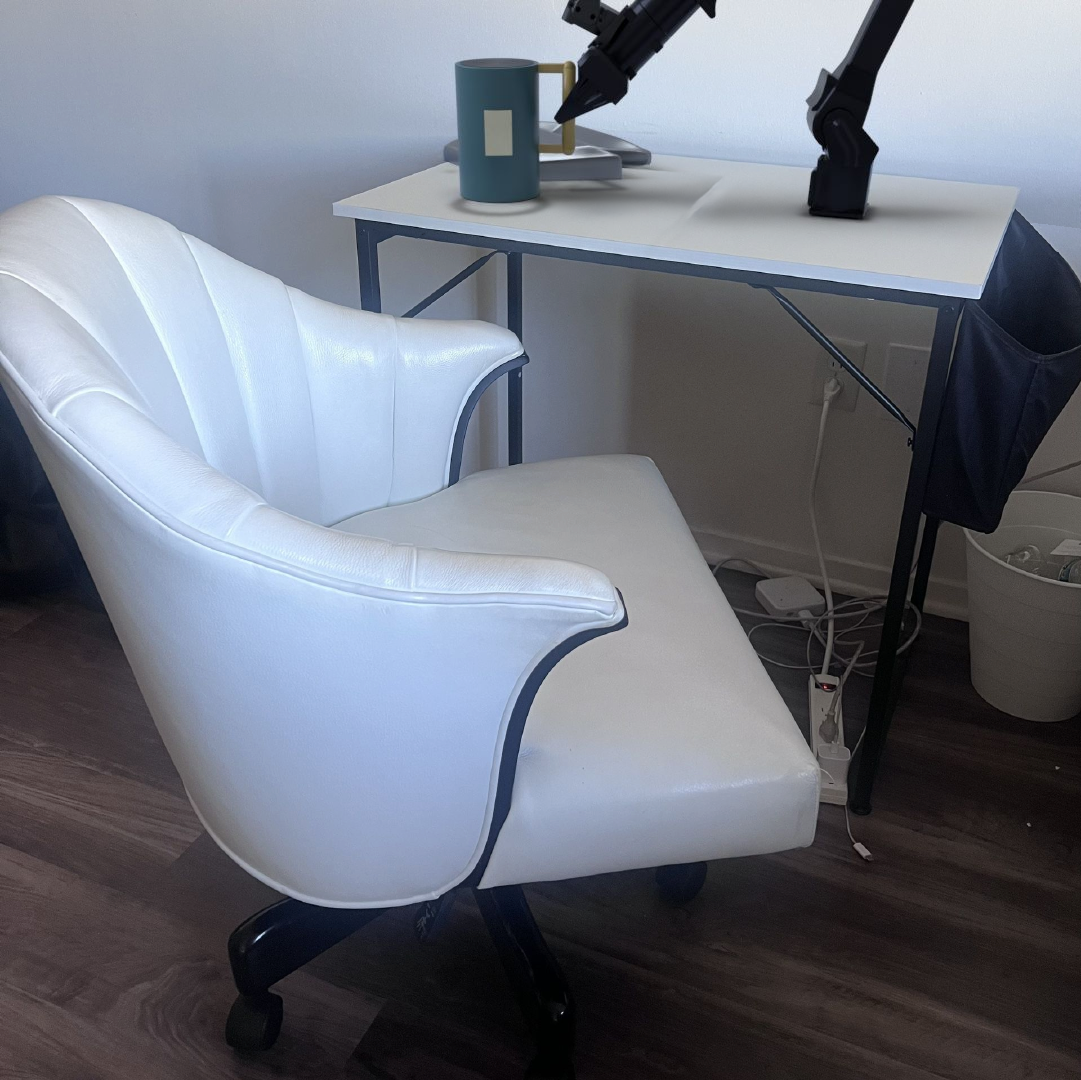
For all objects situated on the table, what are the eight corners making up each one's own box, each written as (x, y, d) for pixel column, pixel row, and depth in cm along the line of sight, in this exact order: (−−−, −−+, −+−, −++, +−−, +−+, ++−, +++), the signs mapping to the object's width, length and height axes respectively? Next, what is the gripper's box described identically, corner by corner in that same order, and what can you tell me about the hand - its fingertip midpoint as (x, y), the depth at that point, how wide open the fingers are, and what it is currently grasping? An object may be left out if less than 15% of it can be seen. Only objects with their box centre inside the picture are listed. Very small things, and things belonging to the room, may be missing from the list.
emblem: (676, 123, 149) (594, 158, 128) (674, 162, 152) (593, 202, 131) (507, 109, 161) (406, 139, 140) (508, 145, 163) (409, 180, 142)
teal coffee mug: (581, 190, 131) (583, 58, 123) (552, 209, 123) (552, 68, 115) (480, 181, 136) (475, 53, 128) (445, 199, 128) (438, 63, 120)
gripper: (609, -42, 124) (519, 58, 130) (599, -35, 108) (497, 79, 115) (672, 31, 127) (581, 125, 134) (671, 48, 111) (568, 154, 118)
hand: (557, 119), depth 125 cm, fingers closed on teal coffee mug, 2 cm apart
